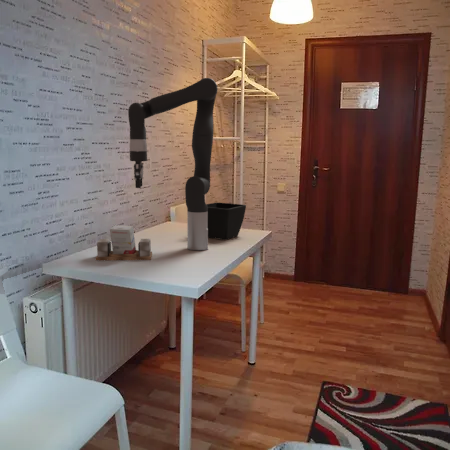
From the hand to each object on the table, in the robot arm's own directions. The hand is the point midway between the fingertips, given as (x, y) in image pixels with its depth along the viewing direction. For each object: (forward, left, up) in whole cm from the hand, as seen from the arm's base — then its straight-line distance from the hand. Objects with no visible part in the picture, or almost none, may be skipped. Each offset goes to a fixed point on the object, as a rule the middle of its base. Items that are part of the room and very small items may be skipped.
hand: (139, 187), depth 197 cm
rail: (+5, +16, -28) cm, 33 cm away
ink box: (+5, +16, -27) cm, 31 cm away
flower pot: (-40, -28, -28) cm, 56 cm away
